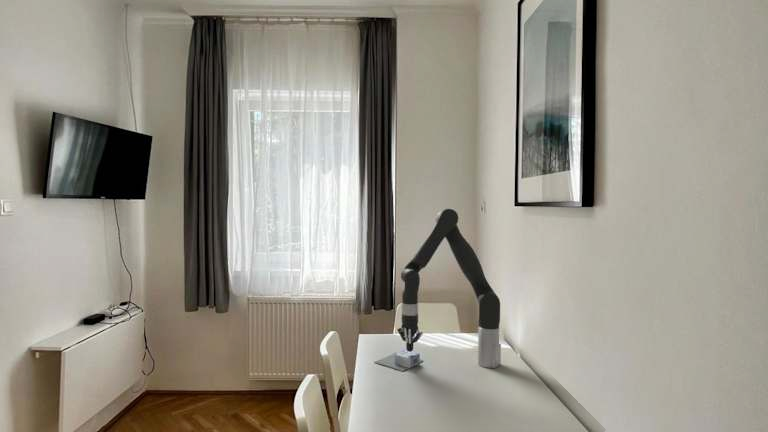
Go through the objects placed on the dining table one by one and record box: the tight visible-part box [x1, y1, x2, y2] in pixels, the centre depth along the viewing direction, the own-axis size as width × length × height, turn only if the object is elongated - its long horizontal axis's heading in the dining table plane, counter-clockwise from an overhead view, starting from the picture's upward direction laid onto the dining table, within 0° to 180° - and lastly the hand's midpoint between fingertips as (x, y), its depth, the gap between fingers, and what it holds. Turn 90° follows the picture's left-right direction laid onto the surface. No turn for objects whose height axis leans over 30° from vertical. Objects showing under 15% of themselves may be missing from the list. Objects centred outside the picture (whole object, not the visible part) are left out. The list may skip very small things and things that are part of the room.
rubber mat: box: [374, 352, 424, 373], centre depth 189 cm, size 16×16×1 cm
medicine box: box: [395, 349, 421, 369], centre depth 186 cm, size 8×4×9 cm
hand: (409, 350), depth 185 cm, fingers closed
